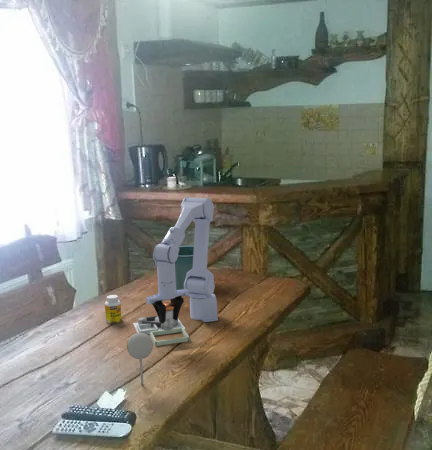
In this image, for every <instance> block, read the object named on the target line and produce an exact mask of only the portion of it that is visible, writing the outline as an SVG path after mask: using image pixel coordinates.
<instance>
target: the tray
mask: <svg viewBox="0 0 432 450" xmlns="http://www.w3.org/2000/svg"><path fill="white" fill-rule="evenodd" d="M175 333H176V334H177V333H182V335H183V336H182V337H175V338H169V339H162V340H157V339H156V336H163V335H169V334H175ZM149 337H150V338H151V340H152V342H153V345H154V346H155V347H157V346H158V347H159V346H164V345H165V346H166V345H173V344H179V343H184V342H190V341H191V340H190V338H191V337H190V336H189V333H187V332H186V329H183V327H180V328H173V329H172V330H159V331H152V332H150V334H149Z"/></svg>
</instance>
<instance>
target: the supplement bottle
mask: <svg viewBox="0 0 432 450" xmlns="http://www.w3.org/2000/svg"><path fill="white" fill-rule="evenodd" d="M121 305H122V304H121V301H120V300H119V296H118V295H117V294H110V295H107V296H106V301H105V302H104V311H105V312H104V313H105V315H104V316H105V323H106V324H111V325H112V324H118V323H121V322H122V318H123V317H122V306H121Z"/></svg>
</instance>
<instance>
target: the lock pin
mask: <svg viewBox="0 0 432 450" xmlns="http://www.w3.org/2000/svg"><path fill="white" fill-rule="evenodd" d="M163 304H164V305H165V311H164V319H165V321H164V323H163V324H162V323H161V329H163V330H172V329H173V317H174V309H175V304H174V303H171V301H170V302H169V301H166V302H165V301H163Z"/></svg>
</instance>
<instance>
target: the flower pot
mask: <svg viewBox="0 0 432 450" xmlns="http://www.w3.org/2000/svg"><path fill="white" fill-rule="evenodd" d="M193 254H194V245H182V246H181V245H180V247H179V252H178V258H177V260H176V261H175V277H176V290H182V289H184V282H185V279H186V273H187V272H188V271H190V270H191V269H192V268H193ZM194 277H198V276H194ZM200 278H203V277H200Z"/></svg>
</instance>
